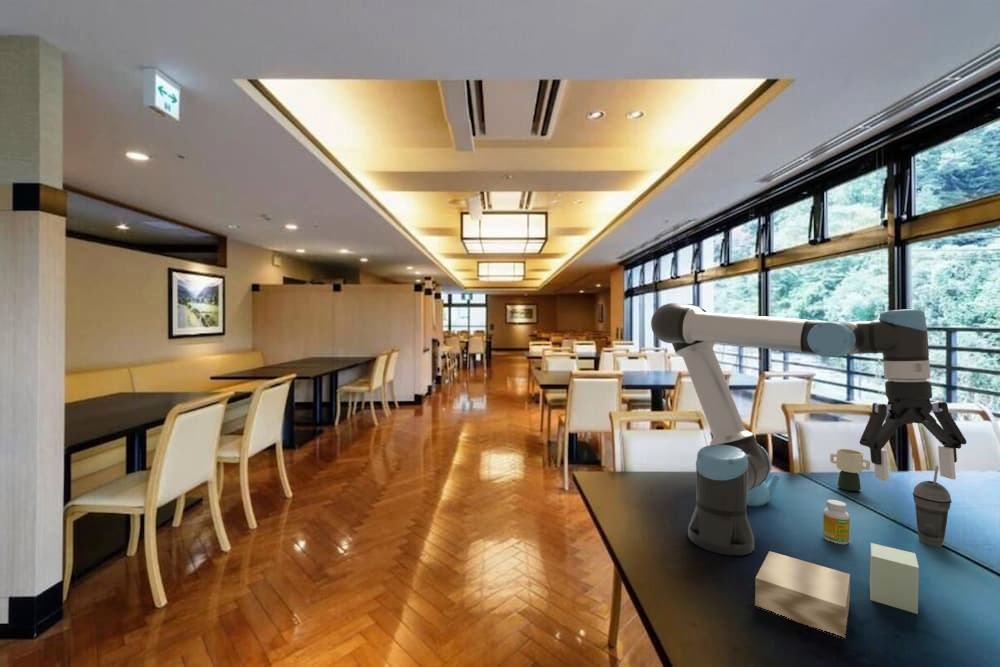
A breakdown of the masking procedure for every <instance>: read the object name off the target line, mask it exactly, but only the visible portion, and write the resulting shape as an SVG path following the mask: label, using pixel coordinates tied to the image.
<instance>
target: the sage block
mask: <svg viewBox="0 0 1000 667" xmlns="http://www.w3.org/2000/svg"><path fill="white" fill-rule="evenodd" d="M869 555H870V560H869V562H870V563H869V564H870V565H869V572H870V573H869V592H870V593H869V594H870V595H869V596H870V599H869V600H870V601H873V602H876V603H880V604H883V605H886V606H890V607H893V608H895V609H900V610H902V611H903V610H904V611H907V612H908V613H909V612H910V613H913V614H915V615H916V614H917V615H918V614H919V583H920V582H919V581H920V579H919V577H920V575H919V574H920V571H919V570H920V567H919V562H918V559H917V555H916V553H915V552H912V551H911V552H910V551H906V550H903V549H898V548H894V547H890V546H885V545H881V544H878V543H874V542H870V554H869Z"/></svg>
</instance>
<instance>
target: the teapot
mask: <svg viewBox="0 0 1000 667" xmlns="http://www.w3.org/2000/svg"><path fill="white" fill-rule="evenodd" d="M780 478H781V475H779V474H772V476H771V477H770V478H769V480H768V481H767V482H766V480H765V481H764V482H763V483H762V484H761V485H759V486H757V487H754V488H753V489H751V490H750V491H748V492H747V505H749V506H748V507H762V506H764V505H766V504H767V503H768V502H769V501H770V500H771V499H770V498H771V497H772V495H773V493H774V491H775V489H776V486H777V484H778V483H779V480H780ZM761 505H762V506H761Z"/></svg>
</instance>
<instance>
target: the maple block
mask: <svg viewBox="0 0 1000 667" xmlns="http://www.w3.org/2000/svg"><path fill="white" fill-rule="evenodd" d="M754 581H755V585H754V586H755V588H754V589H755V590H754V591H755V592H754V594H755V596H754V597H755V598H754V607H755V606H758V607H761V608H763V609H766V610H769V611H772V612H774V613H776V614H775V615H777V614H779V615H778V616H780V615H782V616H785V617H787V618H786V619H788V618H789V619H788V620H791V619H792V620H791V621H793V620H794V622H796V623H799V624H801V625H805V626H807V625H808V627H811V628H813V627H814V628H813V629H815V628H817V629H816V630H818V629H821V630H823V631H822V632H824V631H827V632H830V633H834V634H836V635H839V636H842V637H844V638H845V639H846V635H845V634H847V627H848V619H847V618H849V617H848V616H849V610H850V603H851V602H850V599H851V595H850V594H851V593H850V592H851V589H850V588H851V573H846V572H843V571H840V570H837V569H834V568H831V567H830V568H829V567H826V566H823V565H819V564H816V563H812V562H809V561H805V560H802V559H799V558H795V557H791V556H789V555H784V554H781V553H777V552H774V551H771V550H769V551H768V553H767V554H766V556H765V559H764V561H763V562H762V564H761V566H760V568H759V570H758V573H756V576H755V579H754ZM849 602H850V603H849ZM758 607H757V608H758ZM763 609H762V610H763ZM766 610H765V611H766ZM769 611H768V612H769ZM774 613H773V614H774ZM782 616H781V617H782ZM785 617H784V618H785ZM846 626H847V627H846ZM821 630H820V631H821Z"/></svg>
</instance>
